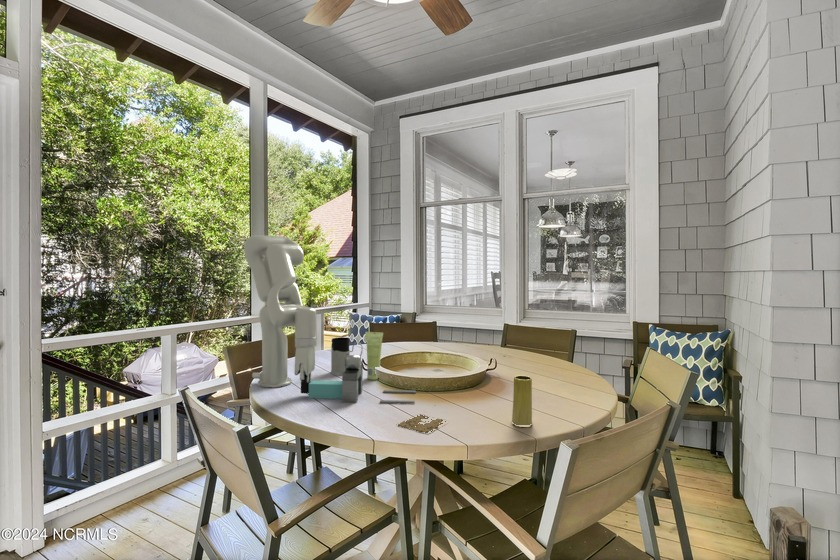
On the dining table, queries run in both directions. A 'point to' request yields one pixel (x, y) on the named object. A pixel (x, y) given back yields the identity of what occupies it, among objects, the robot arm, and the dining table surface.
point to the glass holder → (340, 354)
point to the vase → (522, 400)
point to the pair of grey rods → (397, 400)
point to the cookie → (420, 427)
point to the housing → (352, 378)
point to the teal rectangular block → (325, 389)
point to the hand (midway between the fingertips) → (305, 392)
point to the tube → (373, 352)
